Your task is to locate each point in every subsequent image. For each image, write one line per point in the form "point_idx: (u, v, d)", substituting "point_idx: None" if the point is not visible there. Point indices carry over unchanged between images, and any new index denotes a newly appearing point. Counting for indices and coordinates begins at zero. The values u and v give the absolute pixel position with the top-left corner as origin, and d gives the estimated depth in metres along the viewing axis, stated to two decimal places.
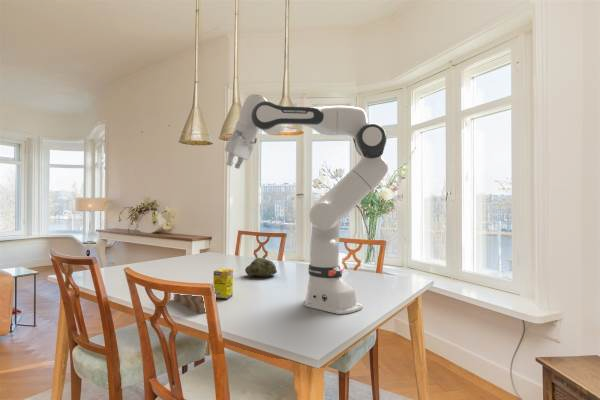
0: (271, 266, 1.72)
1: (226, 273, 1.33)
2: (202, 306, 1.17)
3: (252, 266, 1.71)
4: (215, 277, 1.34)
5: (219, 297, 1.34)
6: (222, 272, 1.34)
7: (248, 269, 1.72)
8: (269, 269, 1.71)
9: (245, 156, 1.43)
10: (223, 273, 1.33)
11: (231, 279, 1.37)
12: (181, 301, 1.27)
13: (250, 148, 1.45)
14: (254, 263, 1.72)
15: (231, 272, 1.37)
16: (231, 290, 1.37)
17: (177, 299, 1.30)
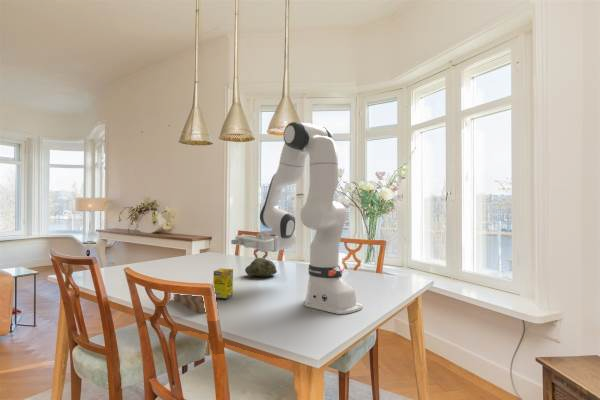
0: (271, 266, 1.72)
1: (226, 273, 1.33)
2: (202, 306, 1.17)
3: (252, 266, 1.71)
4: (215, 277, 1.34)
5: (219, 297, 1.34)
6: (222, 272, 1.34)
7: (248, 269, 1.72)
8: (269, 269, 1.71)
9: (257, 239, 1.41)
10: (223, 273, 1.33)
11: (231, 279, 1.37)
12: (181, 301, 1.27)
13: (268, 240, 1.42)
14: (254, 263, 1.72)
15: (231, 272, 1.37)
16: (231, 290, 1.37)
17: (177, 299, 1.30)
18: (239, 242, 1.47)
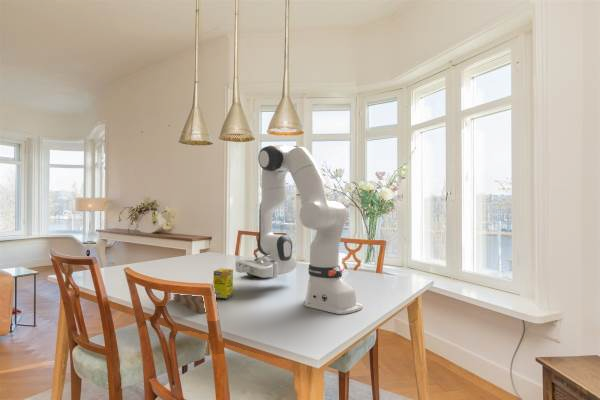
0: None
1: (226, 273, 1.33)
2: (202, 306, 1.17)
3: None
4: (215, 277, 1.34)
5: (219, 297, 1.34)
6: (222, 272, 1.34)
7: None
8: None
9: (256, 266, 1.42)
10: (223, 273, 1.33)
11: (231, 279, 1.37)
12: (181, 301, 1.27)
13: (268, 266, 1.43)
14: None
15: (231, 272, 1.37)
16: (231, 290, 1.37)
17: (177, 299, 1.30)
18: None
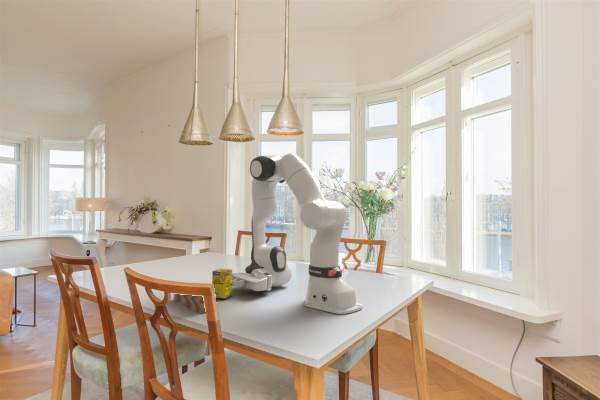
0: None
1: (225, 273, 1.33)
2: (202, 306, 1.17)
3: (252, 266, 1.71)
4: (214, 277, 1.34)
5: (218, 297, 1.33)
6: (221, 272, 1.33)
7: (248, 269, 1.72)
8: None
9: (249, 279, 1.39)
10: (222, 273, 1.33)
11: (230, 279, 1.37)
12: (181, 301, 1.27)
13: (261, 279, 1.40)
14: None
15: (230, 272, 1.36)
16: (230, 290, 1.37)
17: (177, 299, 1.30)
18: None
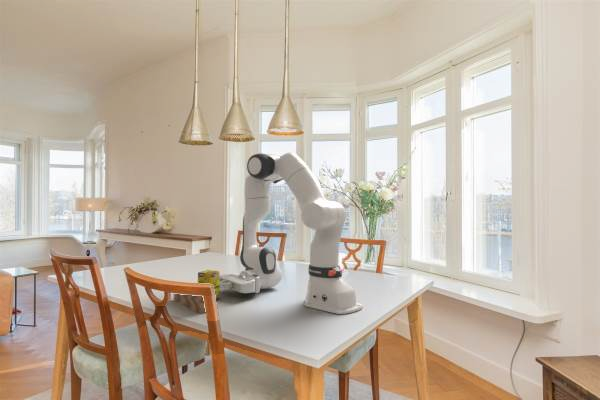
0: None
1: (209, 275, 1.29)
2: (202, 306, 1.17)
3: None
4: (199, 279, 1.31)
5: None
6: (206, 274, 1.30)
7: (248, 269, 1.72)
8: None
9: (237, 281, 1.35)
10: (206, 275, 1.30)
11: (217, 281, 1.33)
12: (181, 301, 1.27)
13: (249, 281, 1.36)
14: None
15: (216, 274, 1.32)
16: (216, 293, 1.33)
17: (177, 299, 1.30)
18: None
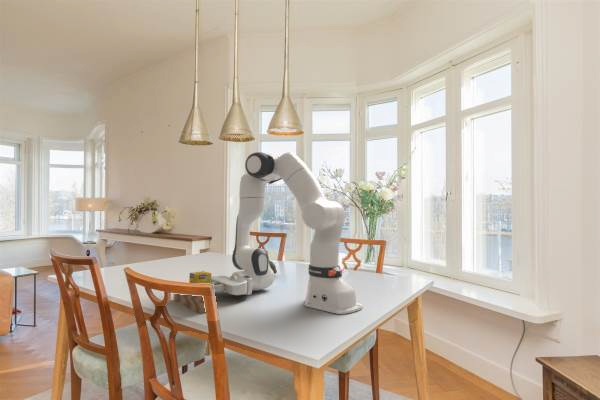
0: (271, 266, 1.72)
1: (197, 276, 1.26)
2: (202, 306, 1.17)
3: None
4: (190, 279, 1.29)
5: None
6: (195, 275, 1.27)
7: None
8: None
9: (228, 282, 1.32)
10: (195, 276, 1.27)
11: None
12: (181, 301, 1.27)
13: (241, 282, 1.33)
14: None
15: (207, 276, 1.29)
16: None
17: (177, 299, 1.30)
18: None
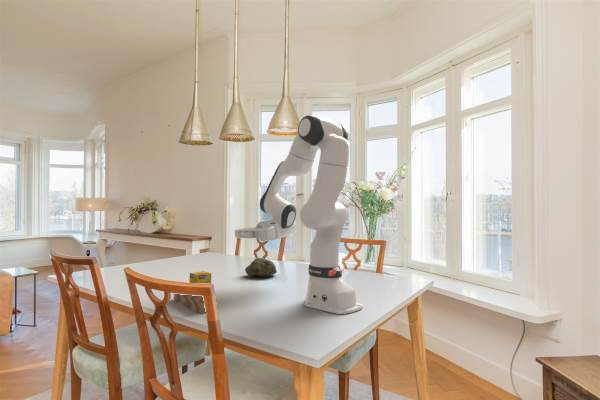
0: (271, 266, 1.72)
1: (197, 276, 1.26)
2: (202, 306, 1.17)
3: (252, 266, 1.71)
4: (190, 279, 1.29)
5: None
6: (195, 275, 1.27)
7: (248, 269, 1.72)
8: (269, 269, 1.71)
9: (258, 229, 1.41)
10: (195, 276, 1.27)
11: None
12: (181, 301, 1.27)
13: (269, 227, 1.42)
14: (254, 263, 1.72)
15: (207, 276, 1.29)
16: None
17: (177, 299, 1.30)
18: None
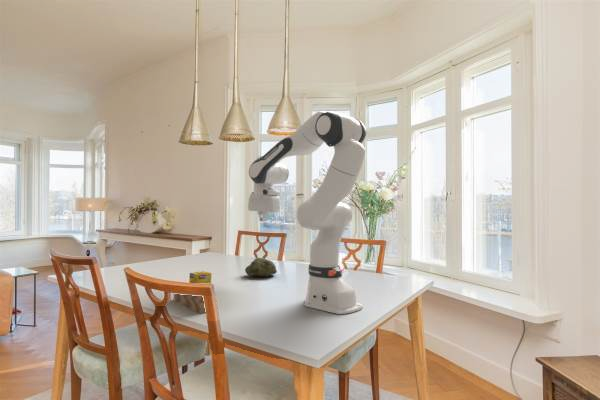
0: (271, 266, 1.72)
1: (197, 276, 1.26)
2: (202, 306, 1.17)
3: (252, 266, 1.71)
4: (190, 279, 1.29)
5: None
6: (195, 275, 1.27)
7: (248, 269, 1.72)
8: (269, 269, 1.71)
9: (266, 209, 1.55)
10: (195, 276, 1.27)
11: None
12: (181, 301, 1.27)
13: (269, 200, 1.53)
14: (254, 263, 1.72)
15: (207, 276, 1.29)
16: None
17: (177, 299, 1.30)
18: (262, 212, 1.61)
